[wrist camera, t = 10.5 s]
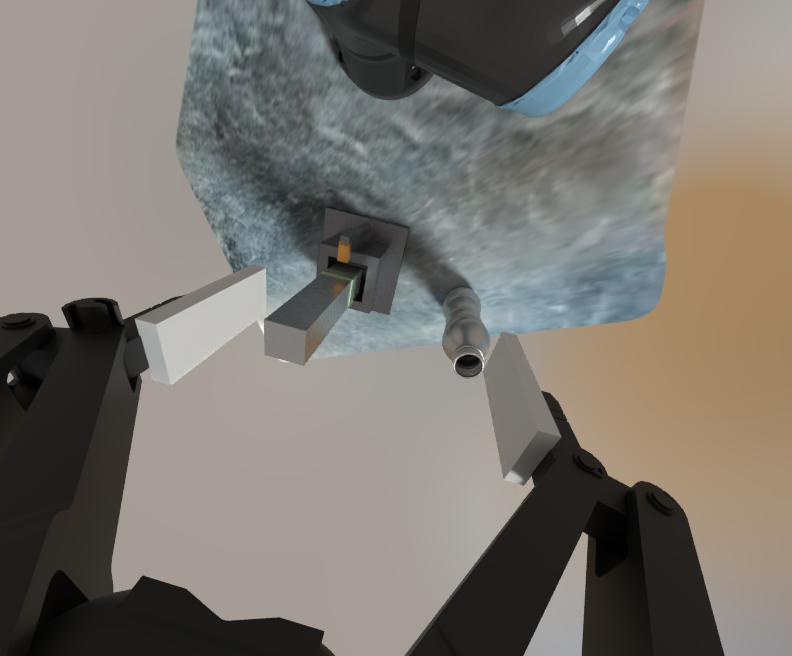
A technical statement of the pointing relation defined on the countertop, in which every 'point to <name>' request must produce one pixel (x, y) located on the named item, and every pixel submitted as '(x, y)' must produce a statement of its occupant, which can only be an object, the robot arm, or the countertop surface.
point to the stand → (365, 255)
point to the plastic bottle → (465, 332)
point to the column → (311, 314)
